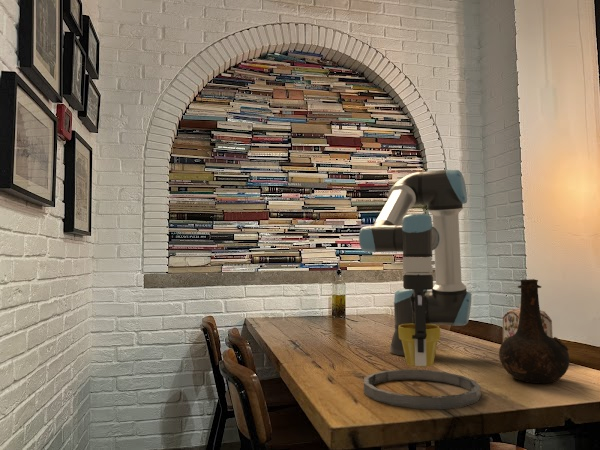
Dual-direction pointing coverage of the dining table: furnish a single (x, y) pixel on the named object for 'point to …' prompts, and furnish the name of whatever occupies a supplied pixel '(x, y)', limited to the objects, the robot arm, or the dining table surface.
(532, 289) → the glass bottle
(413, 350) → the plant pot
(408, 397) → the centring collar
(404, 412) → the dining table surface
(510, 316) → the decorative jar
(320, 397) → the dining table surface
